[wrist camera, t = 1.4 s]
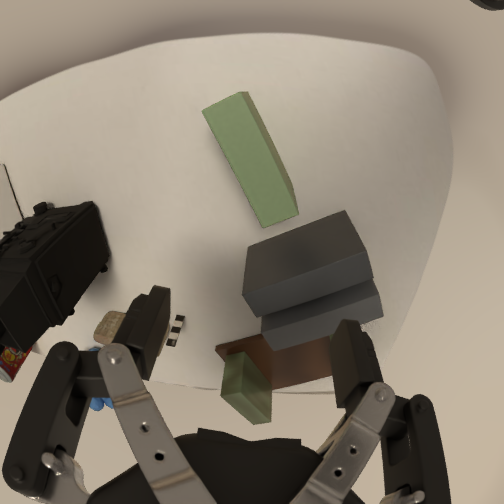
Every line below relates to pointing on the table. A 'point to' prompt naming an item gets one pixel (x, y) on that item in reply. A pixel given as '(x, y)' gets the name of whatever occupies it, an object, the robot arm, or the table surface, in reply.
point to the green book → (253, 158)
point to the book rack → (268, 372)
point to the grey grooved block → (310, 282)
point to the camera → (47, 270)
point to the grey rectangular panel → (7, 204)
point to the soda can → (11, 363)
